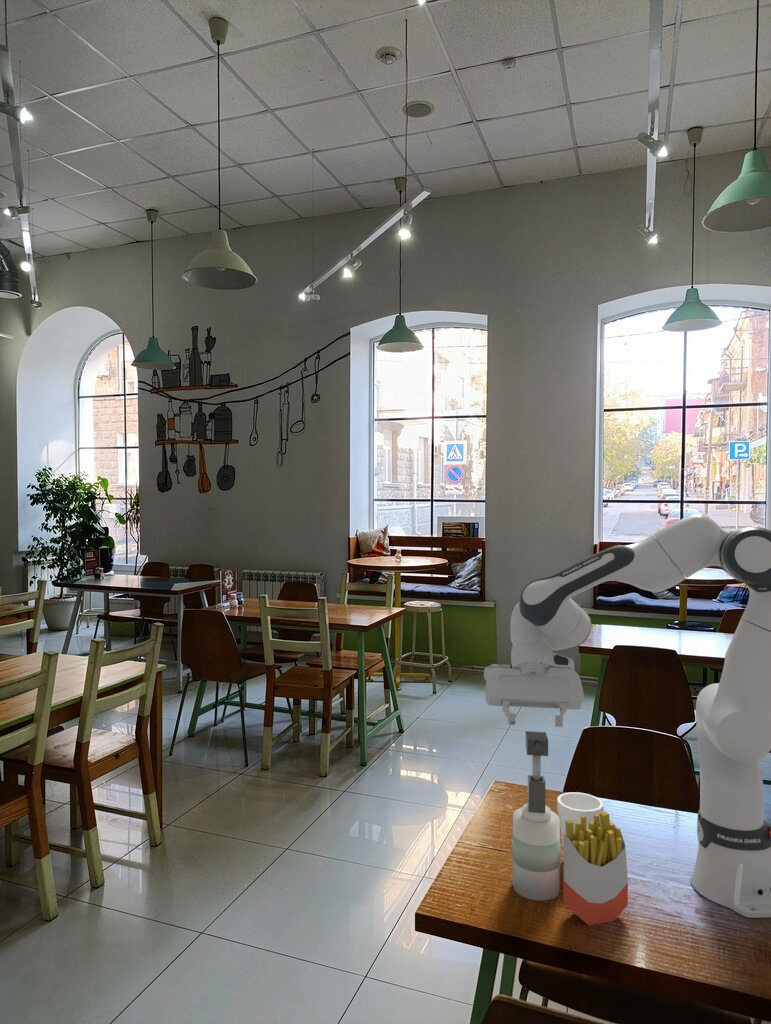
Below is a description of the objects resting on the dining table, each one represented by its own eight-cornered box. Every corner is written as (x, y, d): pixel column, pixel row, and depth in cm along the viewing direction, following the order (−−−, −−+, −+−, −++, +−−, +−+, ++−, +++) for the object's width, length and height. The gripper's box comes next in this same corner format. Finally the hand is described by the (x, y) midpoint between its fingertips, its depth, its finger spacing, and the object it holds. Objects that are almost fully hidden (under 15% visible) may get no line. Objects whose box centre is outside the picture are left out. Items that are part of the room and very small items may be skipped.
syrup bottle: (557, 876, 135) (557, 771, 135) (562, 903, 126) (563, 789, 126) (511, 873, 137) (511, 768, 137) (513, 898, 128) (513, 786, 128)
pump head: (545, 778, 134) (545, 732, 134) (550, 796, 125) (550, 747, 125) (525, 776, 134) (525, 731, 134) (528, 795, 125) (528, 746, 125)
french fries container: (629, 919, 121) (629, 820, 121) (577, 929, 118) (577, 828, 118) (613, 905, 126) (613, 809, 126) (563, 914, 123) (563, 817, 123)
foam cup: (605, 877, 135) (605, 813, 135) (558, 872, 137) (558, 809, 137) (600, 853, 145) (600, 794, 145) (556, 849, 146) (556, 790, 146)
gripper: (483, 656, 144) (483, 714, 134) (581, 659, 141) (588, 719, 131) (483, 671, 149) (483, 729, 139) (578, 675, 146) (584, 734, 136)
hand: (535, 724), depth 135 cm, fingers open, 8 cm apart
